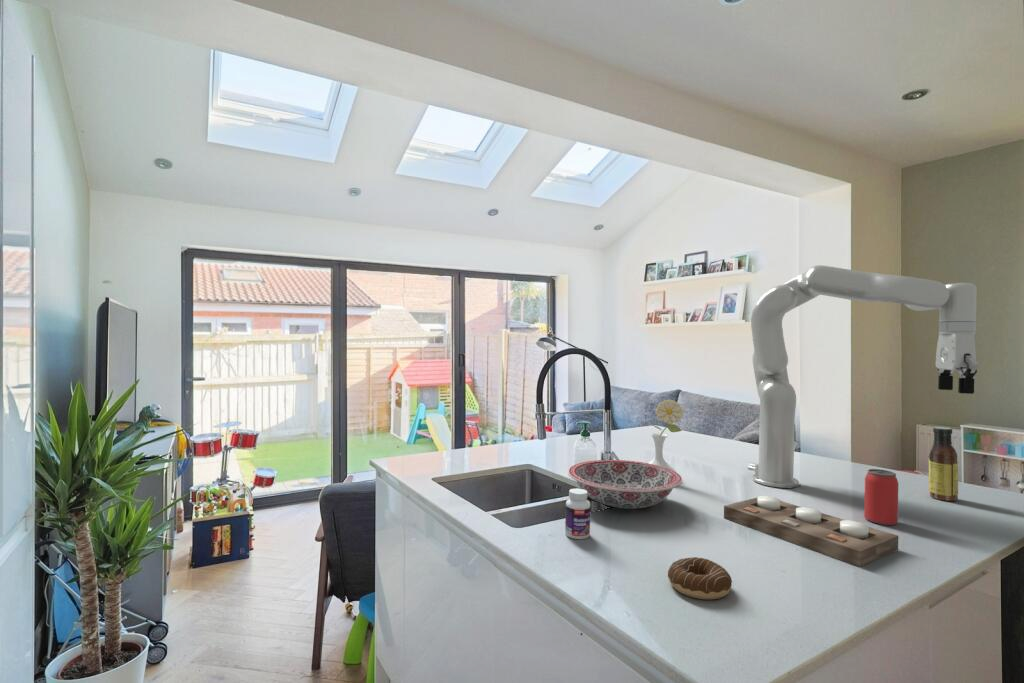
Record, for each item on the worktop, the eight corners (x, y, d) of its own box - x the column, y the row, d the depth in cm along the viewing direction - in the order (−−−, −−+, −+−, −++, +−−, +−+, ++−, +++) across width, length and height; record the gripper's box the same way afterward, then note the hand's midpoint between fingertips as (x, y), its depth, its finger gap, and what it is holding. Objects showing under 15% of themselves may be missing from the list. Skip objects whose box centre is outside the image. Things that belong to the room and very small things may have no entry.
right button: (835, 532, 108) (835, 522, 108) (847, 527, 111) (847, 518, 111) (861, 540, 104) (861, 530, 104) (872, 535, 106) (873, 526, 106)
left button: (752, 505, 124) (753, 497, 124) (765, 502, 127) (765, 494, 127) (772, 512, 120) (772, 503, 120) (784, 508, 123) (784, 500, 123)
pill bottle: (574, 541, 108) (575, 496, 108) (560, 532, 113) (561, 489, 113) (594, 537, 110) (595, 492, 110) (580, 528, 115) (581, 486, 115)
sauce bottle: (946, 495, 144) (948, 425, 144) (964, 502, 138) (965, 430, 138) (922, 494, 145) (923, 425, 144) (938, 501, 138) (940, 429, 138)
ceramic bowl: (597, 481, 154) (597, 454, 154) (695, 500, 137) (696, 470, 137) (547, 506, 130) (547, 475, 130) (658, 533, 113) (659, 498, 113)
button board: (723, 517, 123) (724, 504, 123) (763, 507, 132) (763, 494, 132) (859, 566, 98) (860, 549, 98) (898, 550, 106) (898, 534, 106)
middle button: (791, 518, 116) (791, 509, 116) (803, 514, 119) (803, 506, 119) (813, 525, 112) (813, 516, 112) (825, 521, 115) (825, 512, 115)
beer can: (893, 519, 124) (894, 470, 124) (901, 528, 118) (902, 477, 118) (861, 514, 127) (862, 467, 127) (867, 523, 121) (868, 473, 121)
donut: (744, 603, 84) (744, 579, 84) (682, 605, 83) (682, 581, 83) (713, 573, 94) (714, 552, 94) (658, 575, 94) (658, 553, 94)
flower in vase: (633, 480, 155) (635, 398, 155) (646, 472, 165) (648, 395, 164) (676, 487, 148) (678, 402, 147) (687, 479, 157) (689, 398, 157)
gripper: (924, 329, 147) (922, 387, 148) (959, 328, 131) (957, 394, 131) (955, 329, 145) (953, 389, 146) (994, 328, 129) (992, 395, 129)
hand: (955, 391), depth 138 cm, fingers open, 9 cm apart
